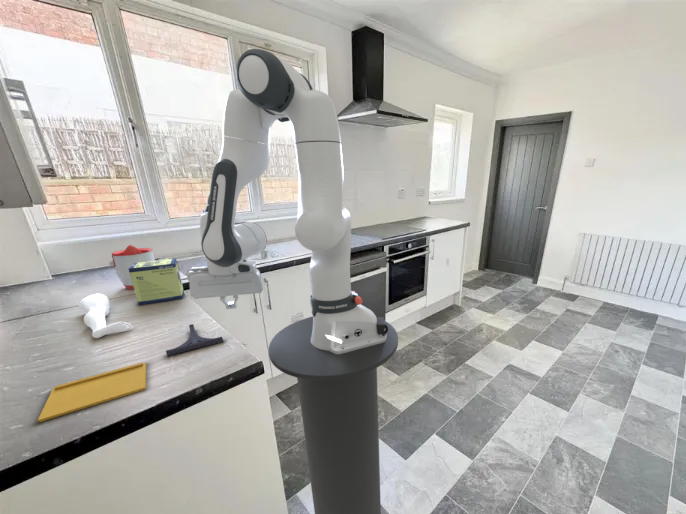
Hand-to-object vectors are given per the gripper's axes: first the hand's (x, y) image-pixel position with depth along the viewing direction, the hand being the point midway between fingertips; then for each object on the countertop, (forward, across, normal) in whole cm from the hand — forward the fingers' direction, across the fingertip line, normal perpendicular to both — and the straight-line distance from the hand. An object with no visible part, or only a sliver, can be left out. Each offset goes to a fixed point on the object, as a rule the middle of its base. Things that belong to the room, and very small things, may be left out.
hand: (231, 308), depth 97 cm
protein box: (+10, -36, +45) cm, 59 cm away
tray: (+9, -27, -21) cm, 36 cm away
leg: (+10, -48, +26) cm, 55 cm away
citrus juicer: (+10, -53, +67) cm, 86 cm away
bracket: (+9, -12, 0) cm, 15 cm away
